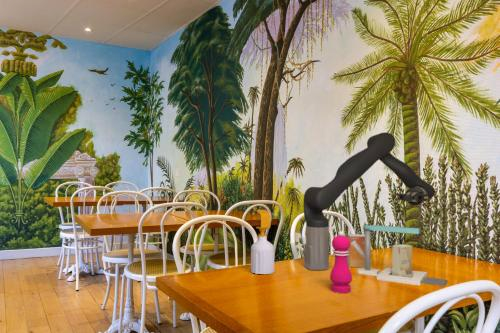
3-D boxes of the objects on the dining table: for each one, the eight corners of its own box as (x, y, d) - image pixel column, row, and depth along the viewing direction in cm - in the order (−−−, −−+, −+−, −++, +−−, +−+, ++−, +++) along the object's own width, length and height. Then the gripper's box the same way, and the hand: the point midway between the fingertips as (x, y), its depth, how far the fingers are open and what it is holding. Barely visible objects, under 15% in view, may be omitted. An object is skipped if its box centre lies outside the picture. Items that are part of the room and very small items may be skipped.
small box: (349, 267, 176) (349, 236, 176) (347, 264, 183) (347, 233, 183) (369, 267, 176) (369, 236, 176) (366, 264, 182) (366, 233, 182)
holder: (353, 276, 162) (353, 232, 162) (365, 268, 174) (365, 227, 174) (419, 285, 149) (419, 237, 149) (427, 276, 162) (427, 232, 162)
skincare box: (400, 280, 156) (400, 247, 156) (391, 277, 160) (391, 245, 160) (413, 278, 159) (413, 245, 159) (403, 275, 163) (403, 243, 163)
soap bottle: (267, 268, 174) (267, 208, 174) (278, 273, 166) (278, 210, 166) (247, 271, 170) (247, 209, 170) (257, 276, 162) (257, 211, 162)
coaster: (423, 283, 152) (423, 281, 152) (426, 278, 158) (426, 277, 158) (444, 285, 149) (444, 284, 149) (447, 281, 155) (447, 279, 155)
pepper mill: (354, 289, 145) (354, 230, 145) (349, 295, 138) (349, 233, 138) (333, 286, 148) (333, 229, 148) (327, 292, 141) (327, 231, 141)
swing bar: (362, 229, 166) (362, 225, 166) (364, 228, 169) (364, 224, 169) (418, 234, 155) (418, 229, 155) (419, 232, 158) (419, 228, 158)
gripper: (400, 186, 186) (390, 188, 172) (432, 187, 179) (425, 189, 165) (400, 203, 186) (390, 207, 172) (432, 205, 179) (425, 208, 165)
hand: (407, 198), depth 168 cm, fingers closed
